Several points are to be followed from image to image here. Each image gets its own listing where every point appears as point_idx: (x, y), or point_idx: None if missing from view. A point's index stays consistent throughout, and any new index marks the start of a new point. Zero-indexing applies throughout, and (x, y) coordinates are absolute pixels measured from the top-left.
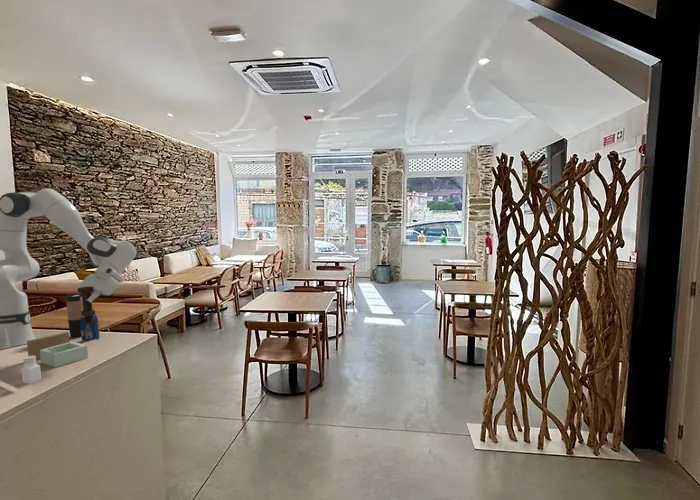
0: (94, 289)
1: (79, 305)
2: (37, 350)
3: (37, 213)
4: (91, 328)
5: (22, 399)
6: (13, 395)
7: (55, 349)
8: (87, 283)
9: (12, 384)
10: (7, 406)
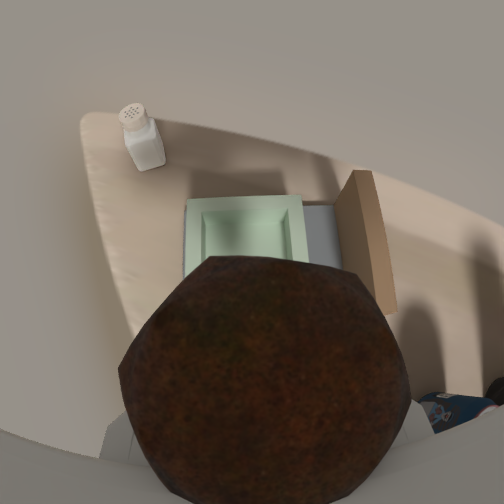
0: (116, 464)
1: None
2: (345, 210)
3: None
4: (432, 426)
5: (90, 131)
6: None
7: (289, 242)
8: (498, 492)
9: (194, 135)
10: (89, 113)
